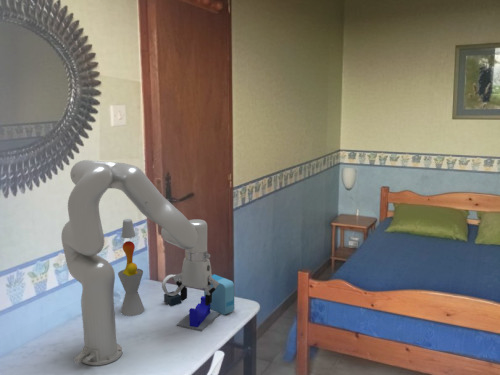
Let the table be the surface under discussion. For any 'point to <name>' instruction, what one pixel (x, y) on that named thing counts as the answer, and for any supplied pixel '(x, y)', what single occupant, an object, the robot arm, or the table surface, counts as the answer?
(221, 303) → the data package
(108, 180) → the robot arm
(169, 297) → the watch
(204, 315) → the cable clip
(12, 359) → the table surface
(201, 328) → the mat
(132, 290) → the lava lamp
